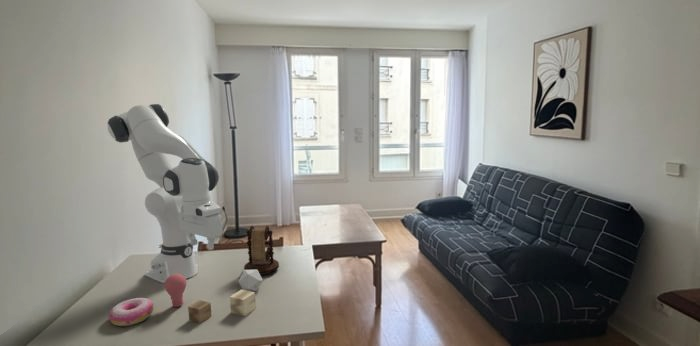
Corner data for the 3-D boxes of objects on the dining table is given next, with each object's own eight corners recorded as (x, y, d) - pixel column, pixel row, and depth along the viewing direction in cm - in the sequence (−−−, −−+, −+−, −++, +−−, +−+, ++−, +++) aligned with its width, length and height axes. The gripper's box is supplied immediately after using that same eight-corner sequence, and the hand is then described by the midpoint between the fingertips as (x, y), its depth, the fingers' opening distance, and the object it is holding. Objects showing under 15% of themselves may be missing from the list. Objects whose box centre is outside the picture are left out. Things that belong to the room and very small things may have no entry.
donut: (144, 304, 147) (142, 291, 146) (161, 316, 139) (160, 302, 138) (103, 320, 137) (101, 306, 136) (119, 333, 128) (118, 318, 127)
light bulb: (175, 313, 140) (171, 280, 138) (162, 308, 144) (159, 276, 142) (192, 304, 146) (189, 273, 144) (180, 299, 150) (177, 269, 148)
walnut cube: (189, 320, 135) (188, 306, 134) (200, 313, 139) (199, 300, 139) (200, 323, 133) (199, 309, 132) (211, 316, 137) (210, 302, 137)
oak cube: (231, 312, 139) (229, 296, 138) (242, 305, 145) (241, 289, 144) (244, 316, 137) (243, 299, 136) (256, 308, 142) (254, 292, 141)
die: (250, 298, 151) (264, 275, 152) (231, 286, 152) (245, 264, 153) (255, 296, 159) (268, 274, 160) (237, 285, 160) (250, 263, 161)
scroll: (239, 277, 169) (235, 231, 166) (251, 263, 183) (248, 220, 180) (273, 278, 167) (270, 231, 164) (283, 264, 182) (280, 221, 178)
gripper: (172, 205, 138) (176, 244, 140) (206, 212, 126) (211, 255, 128) (189, 202, 143) (193, 239, 145) (223, 208, 131) (228, 249, 133)
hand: (202, 246), depth 136 cm, fingers open, 8 cm apart
